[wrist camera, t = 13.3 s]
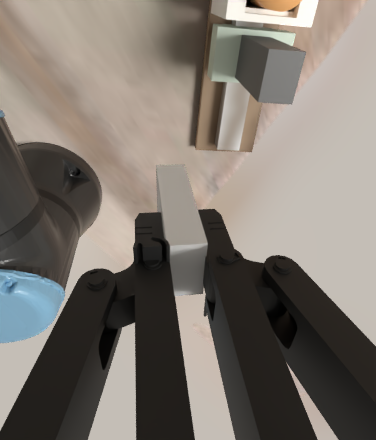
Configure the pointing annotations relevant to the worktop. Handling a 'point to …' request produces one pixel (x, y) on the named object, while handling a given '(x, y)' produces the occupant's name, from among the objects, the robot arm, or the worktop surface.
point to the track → (214, 99)
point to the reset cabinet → (265, 13)
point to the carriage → (256, 61)
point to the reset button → (276, 4)
